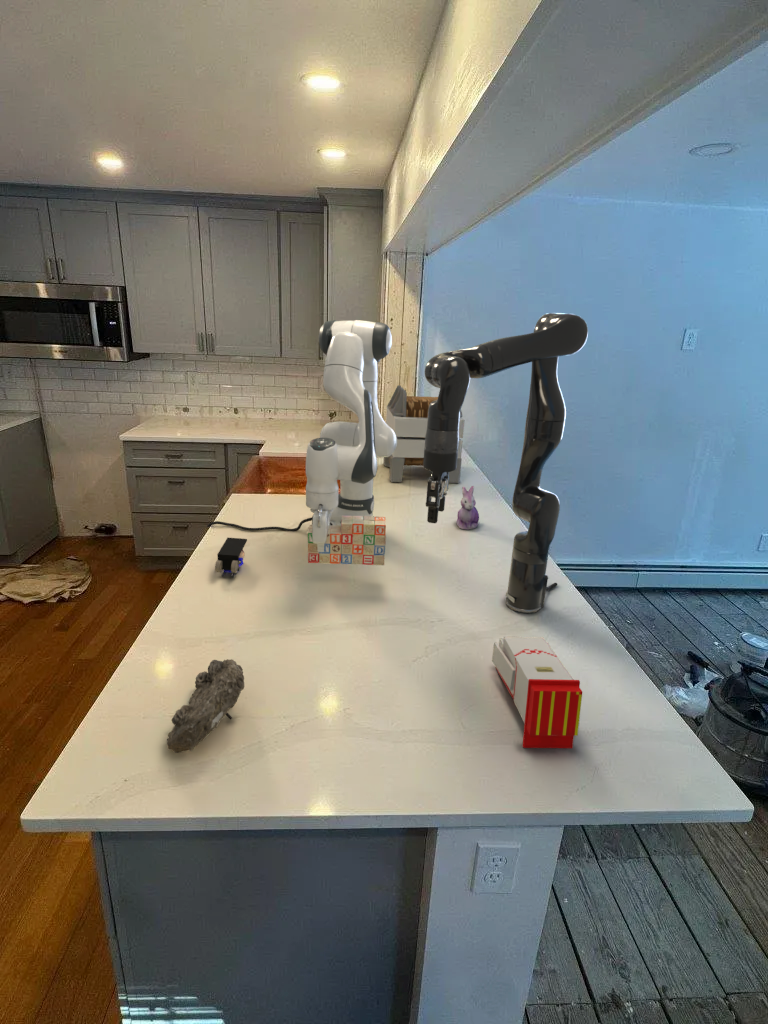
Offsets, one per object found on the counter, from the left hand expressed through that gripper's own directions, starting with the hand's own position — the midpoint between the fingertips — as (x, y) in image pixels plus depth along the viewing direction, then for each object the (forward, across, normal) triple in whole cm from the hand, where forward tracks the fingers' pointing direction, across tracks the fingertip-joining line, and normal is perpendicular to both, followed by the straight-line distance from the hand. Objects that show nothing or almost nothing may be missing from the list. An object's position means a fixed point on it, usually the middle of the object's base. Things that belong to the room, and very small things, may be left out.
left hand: (322, 545), depth 158 cm
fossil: (+11, -57, +16) cm, 60 cm away
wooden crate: (+14, +118, -38) cm, 125 cm away
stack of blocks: (+4, 0, -7) cm, 8 cm away
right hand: (-18, -23, -28) cm, 41 cm away
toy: (+11, -50, -46) cm, 69 cm away
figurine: (+13, +49, -50) cm, 71 cm away
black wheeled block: (+12, +6, +27) cm, 30 cm away
